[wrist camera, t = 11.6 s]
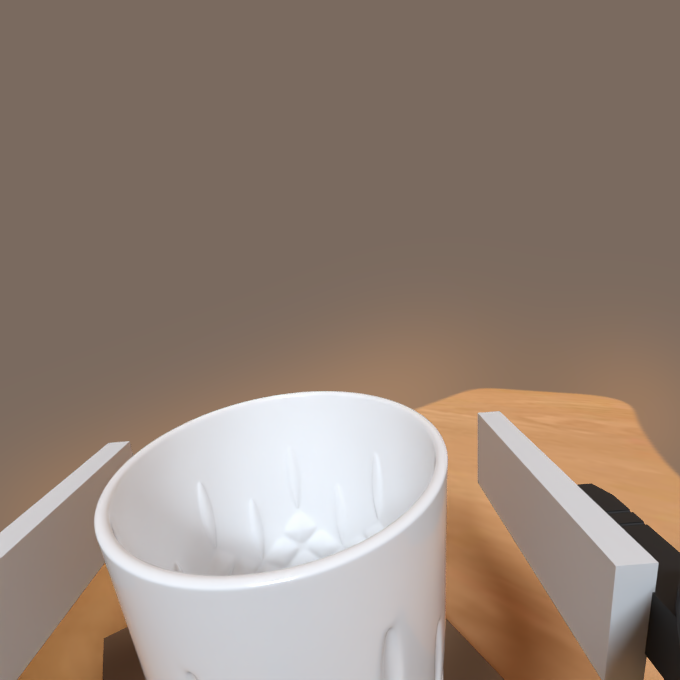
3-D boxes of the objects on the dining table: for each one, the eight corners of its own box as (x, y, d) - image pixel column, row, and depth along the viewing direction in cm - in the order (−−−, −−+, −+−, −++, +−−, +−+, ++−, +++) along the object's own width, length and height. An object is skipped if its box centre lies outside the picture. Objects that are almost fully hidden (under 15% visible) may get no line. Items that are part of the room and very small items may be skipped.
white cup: (188, 676, 14) (129, 425, 12) (380, 593, 16) (361, 375, 14) (179, 1135, 6) (13, 688, 4) (529, 853, 9) (536, 485, 7)
